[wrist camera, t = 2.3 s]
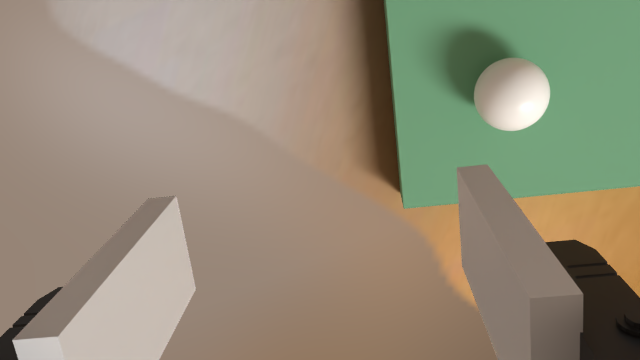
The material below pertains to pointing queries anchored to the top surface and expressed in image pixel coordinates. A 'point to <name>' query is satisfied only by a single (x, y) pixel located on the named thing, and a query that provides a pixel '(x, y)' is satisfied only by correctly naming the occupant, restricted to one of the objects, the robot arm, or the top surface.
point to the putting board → (554, 125)
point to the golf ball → (512, 94)
